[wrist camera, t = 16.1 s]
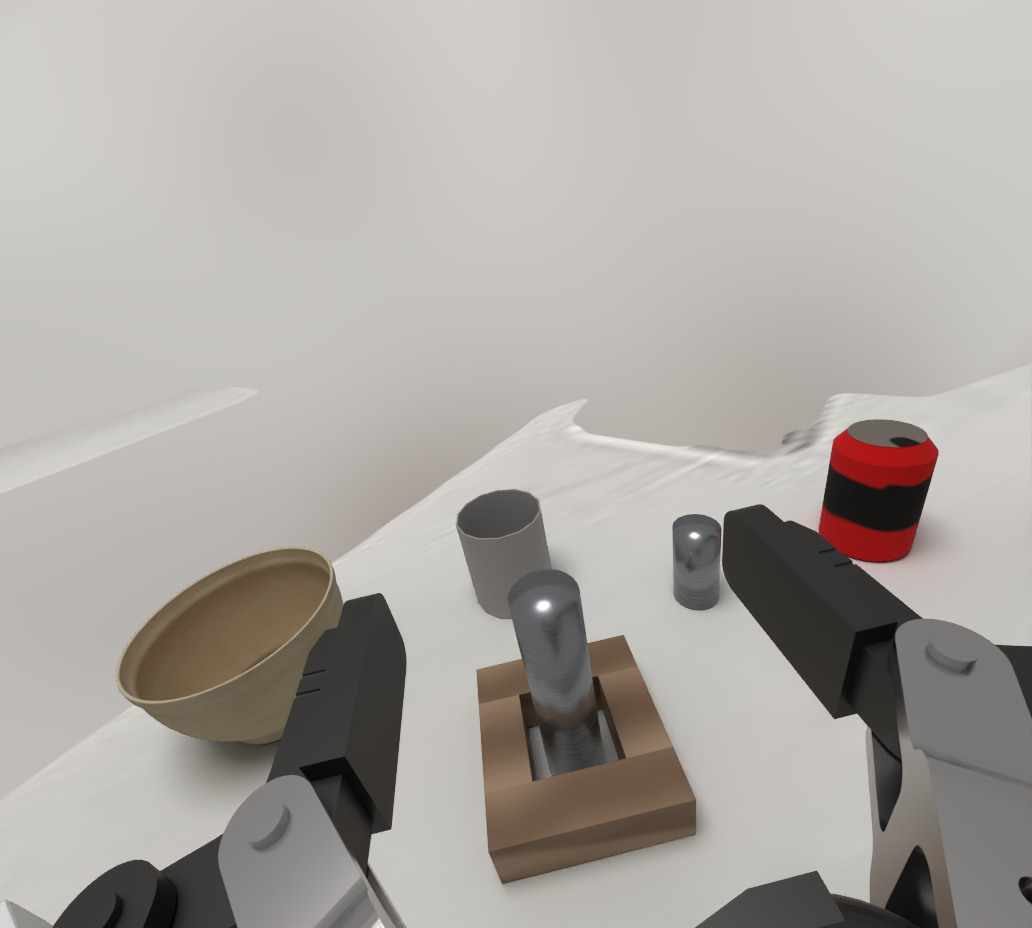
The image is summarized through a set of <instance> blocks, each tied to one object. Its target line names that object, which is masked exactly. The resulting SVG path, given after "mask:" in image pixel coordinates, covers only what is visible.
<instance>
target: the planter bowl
mask: <svg viewBox="0 0 1032 928" xmlns="http://www.w3.org/2000/svg"><path fill="white" fill-rule="evenodd" d="M342 609H343V601H342V597H341V593H340V590H339V587H338V585H337V583H336V577H335V573H334V569H333V567H332V564H331V562H330V560H329V559H328V558H327V557H326V556H325V555H324V554H323V553H321V552H319V551H317V550H314V549H310V548H305V547H282V548H276V549H270V550H266V551H262V552H258V553H255V554H252V555H249V556H246V557H243V558H241V559H238V560H236V561H233V562H231V563H229V564H226V565H224V566H222V567H220V568H218V569H216V570H214V571H212V572H211V573H209V574H207V575H205V576H203V577H202V578H200V579H198V580H197V581H195V582H193V583H192V584H190V585H189V586H187V587H186V588H185V589H183V590H182V591H180V592H179V593H178V594H176V595H175V596H174V597H172V598H171V599H170V600H169V601H167V602H166V603H165V604H164V605H163V606H161V607H160V608H159V609H158V610H157V611H156V612H155V613H154V614H153V615H151V616H150V618H148V619H147V620H146V622H145V623H144V624H143V625H142V626H141V627H140V628H139V629H138V631H137V632H136V633H135V634H134V635H133V636H132V638H131V639H130V641H129V642H128V644H127V645H126V647H125V648H124V650H123V652H122V654H121V656H120V659H119V661H118V664H117V669H116V683H117V687H118V689H119V691H120V692H121V694H122V695H123V696H124V697H125V698H126V699H128V700H129V701H130V702H131V703H133V704H134V705H136V706H138V707H140V708H143V709H144V710H145V711H146V712H147V713H148V714H149V715H150V716H152V717H153V718H154V719H156V720H157V721H159V722H160V723H162V724H163V725H165V726H167V727H168V728H170V729H172V730H175V731H177V732H179V733H182V734H185V735H188V736H191V737H195V738H199V739H204V740H210V741H241V742H243V743H246V744H253V745H260V744H266V743H271V742H274V741H276V740H279V739H281V738H282V734H283V731H284V728H285V725H286V722H287V719H288V716H289V713H290V710H291V707H292V704H293V701H294V699H296V692H297V688H298V685H299V682H300V679H302V678H303V677H302V673H303V670H304V667H305V664H306V661H307V658H308V655H309V652H310V650H311V649H312V648H313V646H314V645H315V644H316V642H317V641H318V639H319V638H320V637H321V635H322V634H323V633H324V631H325V630H328V629H332V628H336V627H338V623H339V620H340V616H341V612H342Z"/></svg>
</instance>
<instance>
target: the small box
mask: <svg viewBox="0 0 1032 928" xmlns="http://www.w3.org/2000/svg"><path fill="white" fill-rule="evenodd" d="M52 927H53V925H51V924H49V923H48V922H46V921H45V920H43V919H41V918H40V917H38V916H36V915H34V914H33V913H31V912H29V911H27V910H26V909H24V908H22V907H20V906H18V905H17V904H15V903H13V902H10V901H8V900H5V901H3V902H2V903H1V904H0V928H52Z"/></svg>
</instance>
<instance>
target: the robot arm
mask: <svg viewBox="0 0 1032 928" xmlns="http://www.w3.org/2000/svg"><path fill="white" fill-rule="evenodd" d="M722 566H723V571H724V575H725V577H726V580H727V582H728V584H729V586H730V588H731V589H732V590H733V592H734V593H735V594H736V595H737V597H738V598H739V599H740V601H741V602H742V603H743V604H744V606H745V607H746V608H747V609H748V611H749V612H750V613H751V614H752V616H753V617H754V618H755V619H756V621H757V622H758V623H759V625H760V626H761V627H762V628H763V630H764V631H765V632H766V633H767V635H768V636H769V637H770V638H771V640H772V641H773V642H774V643H775V645H776V646H777V647H778V649H779V650H780V651H781V652H782V654H783V655H784V656H785V657H786V659H787V660H788V661H789V662H790V664H791V665H792V666H793V667H794V669H795V670H796V671H797V673H798V674H799V675H800V676H801V678H802V679H803V680H804V681H805V683H806V684H807V685H808V686H809V688H810V689H811V690H812V691H813V693H814V694H815V695H816V697H817V698H818V699H819V700H820V702H821V703H822V704H823V705H824V707H825V708H826V709H827V710H828V712H829V713H830V714H831V715H832V717H833V718H834V719H837V718H841V717H845V716H849V715H853V714H858V715H859V716H860V717H861V718H862V720H863V721H864V722H865V723H866V724H867V730H866V750H867V763H868V777H869V790H870V803H871V817H872V830H873V854H872V863H871V872H870V903H867V902H865V901H862V900H859V899H854V898H850V897H846V896H841V895H837V894H830V892H829V891H828V889H827V887H826V885H825V884H824V882H823V880H822V879H821V877H820V875H819V873H818V872H817V871H814V872H810V873H806V874H802V875H798V876H795V877H791V878H787V879H783V880H780V881H776V882H772V883H768V884H764V885H761V886H757V887H753V888H749V889H747V890H745V891H744V892H743V893H741V894H740V895H738V896H737V897H736V898H734V899H733V900H732V901H730V902H729V903H728V904H726V905H725V906H724V907H722V908H721V909H720V910H718V911H717V912H716V913H714V914H713V915H712V916H710V917H709V918H707V919H706V920H705V921H703V922H702V923H701V924H699V925H698V926H697V927H695V928H1032V646H1008V645H994V644H993V643H992V642H990V641H989V640H987V639H986V638H984V637H983V636H981V635H979V634H977V633H975V632H974V631H972V630H969V629H967V628H965V627H962V626H959V625H956V624H954V623H950V622H946V621H941V620H935V619H923V618H922V617H920V616H919V615H918V614H916V613H915V612H914V611H913V610H912V609H910V608H909V607H908V606H907V605H905V604H904V603H903V602H902V601H901V600H899V599H898V598H897V597H896V596H894V595H893V594H892V593H891V592H890V591H888V590H887V589H886V588H885V587H883V586H882V585H881V584H880V583H878V582H877V581H876V580H875V579H874V578H872V577H871V576H870V575H869V574H867V573H866V572H865V571H864V570H863V569H861V568H860V567H859V566H858V565H854V564H853V563H852V560H850V559H849V558H848V557H847V556H845V555H844V554H843V553H842V552H841V551H837V550H836V547H834V546H833V545H832V544H831V543H830V542H828V541H827V540H826V539H825V538H823V537H822V536H821V535H820V534H819V533H817V532H816V531H814V530H811V529H809V528H807V527H805V526H802V525H800V524H798V523H796V522H794V521H787V522H783V521H782V520H781V519H780V518H779V517H777V516H776V515H775V514H774V513H773V512H772V511H770V510H769V509H768V508H767V507H766V506H764V505H761V504H760V505H754V506H750V507H746V508H742V509H737V510H733V511H729V512H727V513H726V514H725V517H724V530H723V555H722ZM302 677H303V678H302V679H300V682H299V685H298V688H297V692H296V699H294V701H293V704H292V707H291V710H290V713H289V716H288V719H287V722H286V725H285V728H284V731H283V734H282V738H281V741H280V744H279V747H278V750H277V753H276V756H275V759H274V762H273V765H272V768H271V771H270V774H269V777H268V779H267V782H266V784H264V785H263V786H261V787H260V788H259V789H257V790H256V791H255V792H253V793H252V794H251V795H250V796H249V797H248V798H247V799H246V800H245V801H244V802H243V803H242V805H241V806H240V807H239V808H238V809H237V811H236V812H235V814H234V815H233V816H232V818H231V820H230V821H229V823H228V825H227V827H226V829H225V831H224V833H223V834H222V835H220V836H219V837H217V838H216V839H214V840H212V841H211V842H209V843H207V844H206V845H204V846H202V847H201V848H199V849H197V850H195V851H194V852H192V853H190V854H189V855H187V856H185V857H183V858H182V859H180V860H178V861H177V862H175V863H173V864H171V865H170V866H168V867H166V868H165V869H163V870H161V871H159V870H158V869H156V868H155V867H154V866H153V865H151V864H150V863H149V862H147V861H144V860H132V861H128V862H125V863H122V864H120V865H118V866H116V867H114V868H112V869H110V870H108V871H107V872H105V873H104V874H103V875H101V876H100V877H98V878H97V879H96V880H95V881H93V882H92V883H91V884H90V885H88V886H87V887H86V888H85V889H84V890H83V891H82V892H81V893H80V894H79V895H78V896H77V897H76V898H75V899H74V900H73V901H72V902H71V904H70V905H69V906H68V907H67V908H66V910H65V911H64V912H63V913H62V915H61V916H60V917H59V919H58V920H57V921H56V923H55V924H54V926H53V927H52V928H406V926H405V924H404V923H403V921H402V919H401V918H400V916H399V914H398V912H397V911H396V909H395V907H394V905H393V904H392V902H391V900H390V899H389V897H388V895H387V893H386V892H385V890H384V888H383V886H382V885H381V883H380V881H379V880H378V878H377V876H376V874H375V873H374V871H373V869H372V867H371V866H370V864H369V863H368V856H369V848H370V840H371V834H374V833H378V832H382V831H386V830H390V829H391V827H392V816H393V806H394V795H395V784H396V773H397V763H398V752H399V741H400V730H401V720H402V709H403V698H404V687H405V677H406V652H405V646H404V642H403V639H402V637H401V634H400V632H399V630H398V627H397V625H396V623H395V621H394V618H393V616H392V614H391V611H390V609H389V607H388V605H387V602H386V600H385V598H384V596H383V595H382V594H381V593H377V594H373V595H369V596H364V597H360V598H356V599H352V600H348V601H346V602H345V603H344V606H343V609H342V612H341V616H340V620H339V623H338V627H336V628H332V629H328V630H325V631H324V633H323V634H322V635H321V637H320V638H319V639H318V641H317V642H316V644H315V645H314V646H313V648H312V649H311V650H310V652H309V655H308V658H307V661H306V664H305V667H304V670H303V673H302Z"/></svg>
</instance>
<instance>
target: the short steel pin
mask: <svg viewBox="0 0 1032 928" xmlns="http://www.w3.org/2000/svg"><path fill="white" fill-rule="evenodd" d="M720 550H721V526H720V524H719V523H718V522H717V521H716V520H714V519H713V518H711V517H708V516H705V515H699V514H691V515H685V516H682V517H680V518H678V519H677V520H675V522H674V523H673V576H674V596H675V599H676V600H677V601H678V602H679V603H680V604H681V605H682V606H684V607H686V608H689V609H692V610H706V609H709V608H712V607H713V606H714V605H716V603H717V602H718V597H719V574H720Z"/></svg>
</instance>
